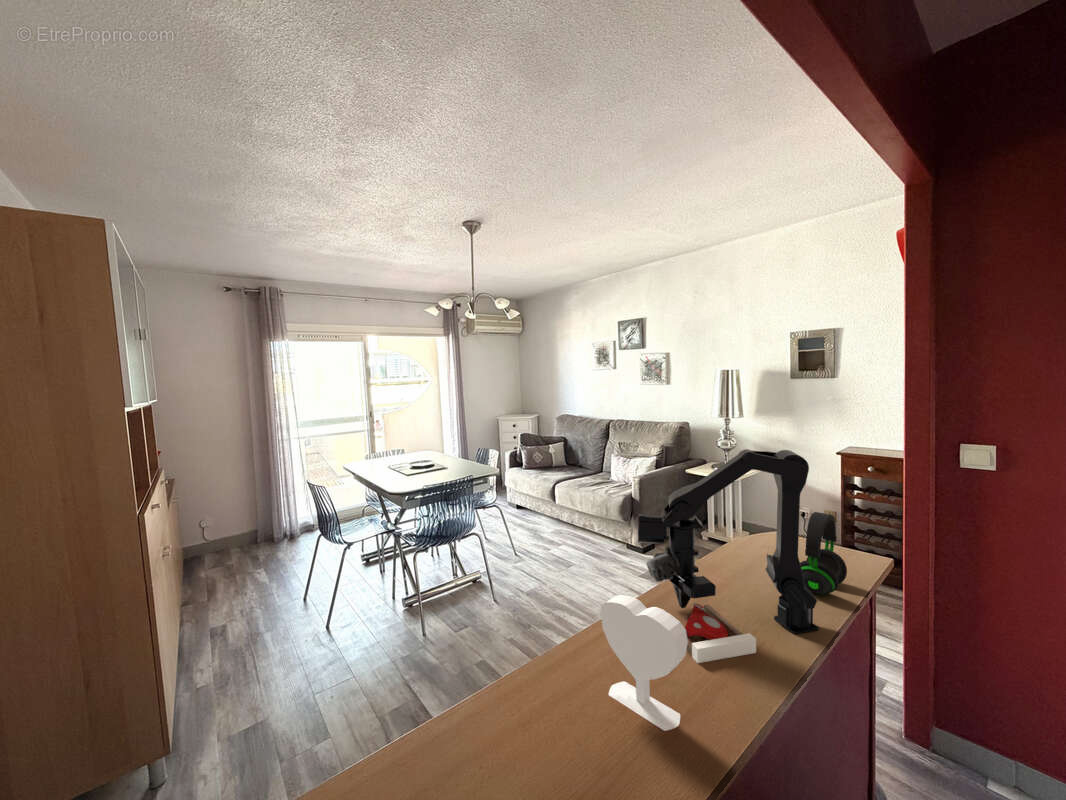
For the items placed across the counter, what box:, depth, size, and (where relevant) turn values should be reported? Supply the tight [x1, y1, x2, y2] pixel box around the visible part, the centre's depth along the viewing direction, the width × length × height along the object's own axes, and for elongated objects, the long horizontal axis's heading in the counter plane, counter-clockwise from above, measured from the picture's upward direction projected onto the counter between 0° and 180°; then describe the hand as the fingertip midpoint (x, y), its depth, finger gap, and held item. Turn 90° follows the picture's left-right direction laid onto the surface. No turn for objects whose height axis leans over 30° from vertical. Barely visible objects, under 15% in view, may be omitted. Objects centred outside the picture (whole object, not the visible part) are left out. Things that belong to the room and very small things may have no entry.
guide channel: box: [686, 603, 757, 664], centre depth 99 cm, size 13×17×3 cm
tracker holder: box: [684, 602, 729, 640], centre depth 101 cm, size 12×4×10 cm
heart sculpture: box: [600, 594, 689, 732], centre depth 78 cm, size 16×5×18 cm, turn 43°
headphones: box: [799, 511, 848, 596], centre depth 116 cm, size 9×16×20 cm, turn 131°
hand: (682, 607), depth 107 cm, fingers closed
